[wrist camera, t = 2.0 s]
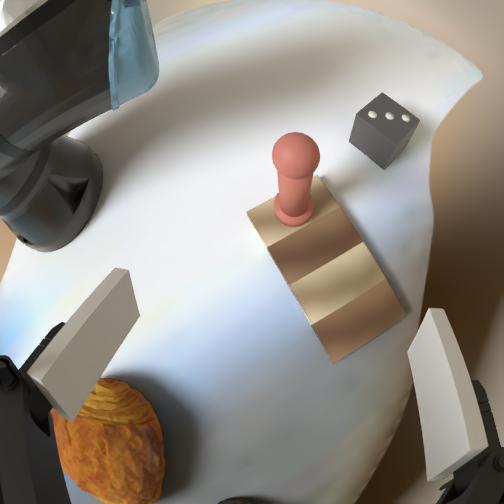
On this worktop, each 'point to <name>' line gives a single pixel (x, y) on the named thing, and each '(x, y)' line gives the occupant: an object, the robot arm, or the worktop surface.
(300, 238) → the track
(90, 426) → the croissant
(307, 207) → the pawn
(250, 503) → the stone
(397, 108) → the die
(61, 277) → the worktop surface
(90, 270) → the worktop surface
